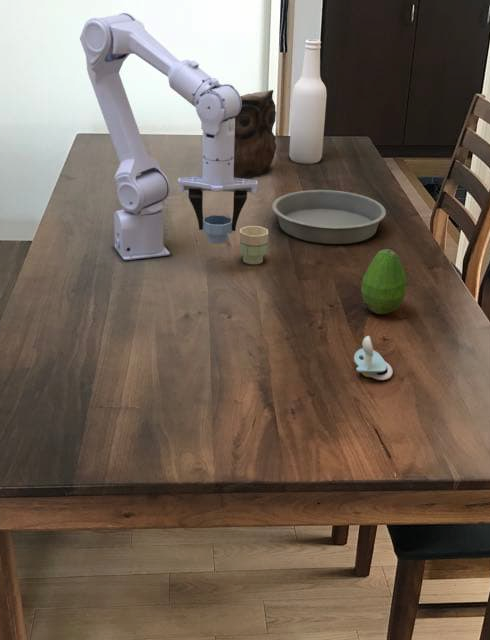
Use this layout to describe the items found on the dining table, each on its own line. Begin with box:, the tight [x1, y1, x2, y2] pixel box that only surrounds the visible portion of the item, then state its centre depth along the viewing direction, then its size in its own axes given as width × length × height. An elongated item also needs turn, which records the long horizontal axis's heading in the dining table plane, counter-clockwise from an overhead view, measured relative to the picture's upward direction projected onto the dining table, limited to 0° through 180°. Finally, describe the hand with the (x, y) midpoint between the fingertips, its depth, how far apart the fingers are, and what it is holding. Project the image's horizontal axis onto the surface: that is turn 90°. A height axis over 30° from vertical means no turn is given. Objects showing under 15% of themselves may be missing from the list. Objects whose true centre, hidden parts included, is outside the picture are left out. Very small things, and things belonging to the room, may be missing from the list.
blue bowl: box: [202, 214, 233, 245], centre depth 168 cm, size 6×6×4 cm
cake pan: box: [271, 189, 387, 245], centre depth 195 cm, size 25×25×4 cm
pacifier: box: [353, 335, 394, 381], centre depth 139 cm, size 7×6×6 cm
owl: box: [234, 89, 277, 179], centre depth 222 cm, size 13×13×20 cm
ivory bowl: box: [239, 225, 269, 246], centre depth 176 cm, size 6×6×4 cm
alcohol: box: [288, 38, 328, 165], centre depth 231 cm, size 9×9×30 cm
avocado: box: [360, 248, 408, 315], centre depth 157 cm, size 8×8×12 cm
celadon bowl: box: [238, 241, 269, 265], centre depth 177 cm, size 6×6×4 cm
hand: (217, 228), depth 168 cm, fingers closed on blue bowl, 5 cm apart
